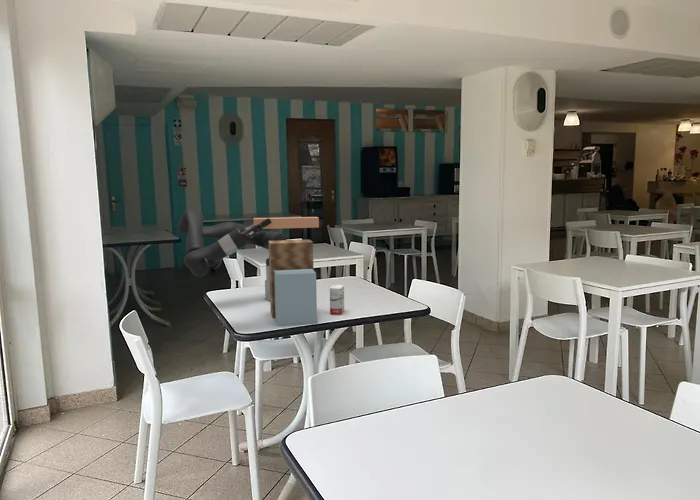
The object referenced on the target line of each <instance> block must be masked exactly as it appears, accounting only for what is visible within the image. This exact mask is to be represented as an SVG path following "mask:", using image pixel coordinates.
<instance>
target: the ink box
mask: <svg viewBox="0 0 700 500" xmlns="http://www.w3.org/2000/svg"><path fill="white" fill-rule="evenodd" d="M344 311H345V284H333V285H331V286H330V287H329V315H337V316H338V315H339V316H341V314H342V313H343V312H344Z"/></svg>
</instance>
